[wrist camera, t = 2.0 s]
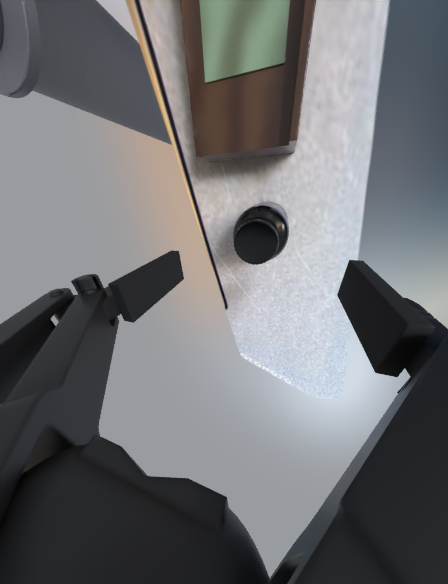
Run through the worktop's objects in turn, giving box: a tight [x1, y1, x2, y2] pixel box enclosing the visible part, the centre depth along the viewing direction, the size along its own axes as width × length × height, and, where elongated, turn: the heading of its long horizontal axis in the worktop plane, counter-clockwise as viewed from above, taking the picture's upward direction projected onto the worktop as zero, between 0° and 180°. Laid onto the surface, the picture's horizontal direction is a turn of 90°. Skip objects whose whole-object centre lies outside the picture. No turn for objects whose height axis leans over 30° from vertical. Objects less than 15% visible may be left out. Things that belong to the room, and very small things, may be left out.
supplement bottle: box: [233, 202, 289, 265], centre depth 23 cm, size 7×7×12 cm
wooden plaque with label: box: [180, 0, 316, 162], centre depth 16 cm, size 12×20×7 cm, turn 2°
